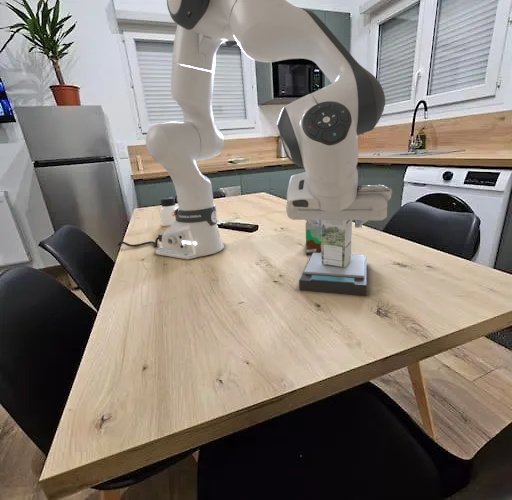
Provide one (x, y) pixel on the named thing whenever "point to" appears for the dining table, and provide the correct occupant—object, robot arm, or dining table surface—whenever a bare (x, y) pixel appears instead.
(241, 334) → the dining table surface
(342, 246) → the syrup box
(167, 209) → the medicine bottle
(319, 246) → the food container
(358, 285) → the kitchen scale
